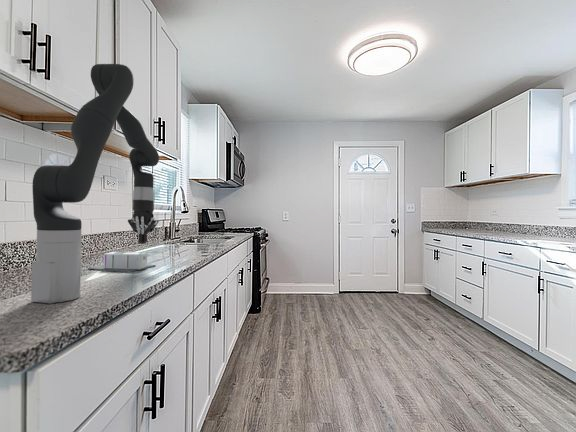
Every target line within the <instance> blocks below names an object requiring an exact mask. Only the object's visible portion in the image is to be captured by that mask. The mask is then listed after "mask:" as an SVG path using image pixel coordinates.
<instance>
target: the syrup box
mask: <svg viewBox="0 0 576 432" xmlns="http://www.w3.org/2000/svg"><path fill="white" fill-rule="evenodd" d="M102 258H103V259H102V260H103V261H102V262H103V265H104V268H112V269H141V270H143V269H142V268H145V267H147V264H148V252H132V251H131V252H128V251H111V252H107V253H104V254H103V257H102Z"/></svg>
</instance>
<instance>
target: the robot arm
mask: <svg viewBox="0 0 576 432" xmlns="http://www.w3.org/2000/svg"><path fill="white" fill-rule="evenodd" d="M90 79H91V82H92V85H93V87H94V89H95V91H96V92H97V94H98V96H96V97H94V98H92V99H91V100H89V101H87V102H85V104H84V105H82V106H81V108H80V109H79V110H78V111H77V114H76V115H75V117H74V119H73V121H72V123H71V127H70V132H71V135H72V136H71V137H72V140H73V142H74V144H75V146H76V155H75V157H74V158H73V159H74V160H73V161H72V162H71V164H69V165H57V164H56V165H55V164H54V165H52V164H51V165H50V164H49V165H41V166H39V167H37V169H36V171H35V172H34V174H33V177H32V185H31V186H32V203H33V207H32V209H33V217H34V220H35V222H36V246H35V247H36V249H35V250H36V252H35V253H36V256H35V258H36V259H35V261H32V263H31V282H30V283H31V287H30V288H31V290H30V291H31V292H30V295H31V296H30V299H31V300H30V301H31V302H32V303H33V302H35V303H43V304H55V303H60V302H68V301H72V300H76V299H78V298H80V297H81V277H82V276H81V275H82V273H81V269H82V267H81V265H82V261H81V260H82V220H81V218H79V217H76V216H75V215H72V214H70V213H68V211H66V210H65V208H64V206H63V203H67V204H68V203H69V204H71V203H72V204H73V203H80V202H82V201H84V200H85V199H86V198H87V197H88V195H89V194H90V190H91V189H92V184H93V181H94V178H95V175H96V170H97V167H98V164H99V161H100V159H101V155H102V153H103V150H104V148H105V146H106V144H107V141H108V139H109V137H110V135H111V133H112V131H113V128H114V125H115V122H116V123H117V124H118V126H119V128H120V130H121V132H122V134H123V137H124V138H125V141H126V143H127V144H128V146H129V147H130V148H132V149H131V150H130V151H129V154H128V155H129V163H130V166H131V170H132V174H133V192H132V211H133V214H132V218H129V219H127V223H128V224H129V225H130V227H131V229H132V231H133V232H134V233H136V234H138V239H137V240H138V241H137V242H138V243H139V245H140V244H141V245H144V244H145V245H146V244H147V243H148V242H147V241H148V234H149V233H153V231H154V230H155V228H156V226H157V225H158V224H159V219H156V218H155V217H154V216H155V215H154V214H153V213H154V210H155V209H154V208H155V205H154V204H155V190H154V184H155V183H154V181H155V178H154V174H153V173H151V172H149V171H144V170H143V167H155V166H157V165H158V163H159V161H160V156H159V152H158V150H157V149H156V147H155V146H154V145H153V144H152V142H151V141H150V140H149V138H148V137H147V135H146V133H145V130H144V127H143V125H142V123H141V121H140V120H139V119H138V118H137V117H136V116H135V115H134V114H133V113H132V112H131V111H130V110H129V109H128V108H127V107H125V103H126V101H127V100H128V98H129V96H130V95H131V93H132V90H133V89H134V80H135V79H134V74H133V71H132V70H131V68H130V67H129V66H127V65H125V64H120V63H96V64H94V65H92V66H91V69H90Z"/></svg>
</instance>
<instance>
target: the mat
mask: <svg viewBox="0 0 576 432" xmlns="http://www.w3.org/2000/svg"><path fill="white" fill-rule="evenodd" d="M153 267H156V264H149V263H147V267H145V268H142V269H112V268H104V265H96V266H93V267H87V270H88V269H94V270H93V271H101V270H105V271H104V272H114V271H116V272H117V273H132V272H137V271H140V270H144V269H146V270H147V269H150V268H153Z"/></svg>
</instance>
